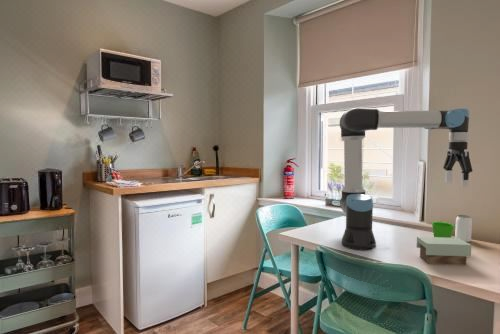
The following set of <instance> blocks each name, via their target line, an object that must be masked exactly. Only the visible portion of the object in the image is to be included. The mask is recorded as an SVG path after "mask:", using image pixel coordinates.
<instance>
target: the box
mask: <svg viewBox="0 0 500 334" xmlns="http://www.w3.org/2000/svg"><path fill="white" fill-rule="evenodd" d="M419 249H420V250H419V258H420V259H422V260H423V261H424V262H425V263H426V264H429V265H456V266H457V265H458V266H467V257H468V256H442V255H426V248H425V247H424V246H422V245H421V244H420V248H419Z"/></svg>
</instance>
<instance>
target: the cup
mask: <svg viewBox="0 0 500 334" xmlns="http://www.w3.org/2000/svg"><path fill="white" fill-rule="evenodd" d="M431 226H432V231H433V232H432V233H433V237H444V238H452V236H453V231H454V228H456V224H455V225H454V224H453V223H449V222H445V221H433V222H431Z"/></svg>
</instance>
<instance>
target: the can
mask: <svg viewBox="0 0 500 334" xmlns="http://www.w3.org/2000/svg"><path fill="white" fill-rule="evenodd" d="M472 226H473V220H472V216H471V215H466V214H458V215H457V217H456V218H455V230H454V232H455V235H454V238H459V239H461V240H463V241H465V242H467V243H469V242H471V241H472Z"/></svg>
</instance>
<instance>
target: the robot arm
mask: <svg viewBox="0 0 500 334" xmlns="http://www.w3.org/2000/svg"><path fill="white" fill-rule="evenodd" d="M469 122H470V112H469V109H468V108H453V109H450V110H379V109H378V108H366V107H364V108H363V107H353V108H351V109H349V110H347V111H345V112H344V113H343V114H342V115H341V117H340V119H339V128H340V137H341V139H342V140H343V143H344V145H343V146H344V147H343V149H344V152H343V154H344V155H343V156H344V157H343V160H344V163H343V164H344V166H343V167H344V175H343V176H344V187H343V188H342V189H341V196H340V197H341V198H340V202H339V205H340V206H339V207H340V208H341V210H342V212H344V214H345V229H344V232H343V235H342V238H341V245H342V246H343V247H345V248H347V249H352V250H355V251H371V250H373V249H374V248H376V245H377V241H376V238H375V235H374V231H373V209H374V202H373V198H372V197H371V196H370V195H367V194H366V190H365V189H364V188H363V139H364V138H365V137H366V131H377V130H378V129H380V128H381V129H382V128H383V129H385V128H386V129H388V128H389V129H392V128H393V129H395V128H397V129H398V128H401V129H402V128H403V129H404V128H406V129H407V128H409V129H412V128H415V129H416V128H417V129H419V128H420V129H421V128H423V129H425V130H449V131H448V141H449V142H448V151H447V152H446V157H445V161H444V164H443V168H442V169H443V170H445V184H452V183H453V168H454V166H455V164H456V163H457V162H458V164H459V166H460V169H461V172H460V173H461V177H460V187H461V188H469V176H470V175H469V174H470V173H472V172H473V167H472V164H471V159H470V153H469V151H465V150H468V140H469V139H468V137H469Z"/></svg>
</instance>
